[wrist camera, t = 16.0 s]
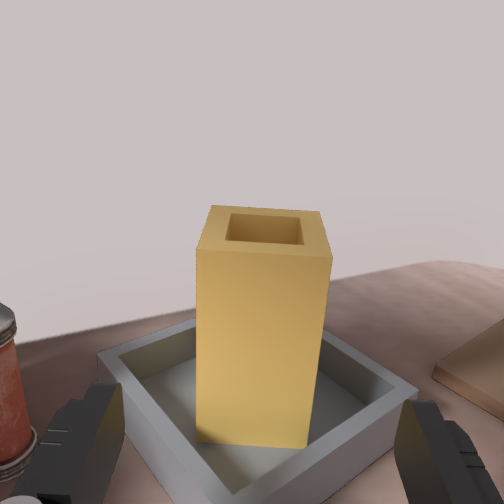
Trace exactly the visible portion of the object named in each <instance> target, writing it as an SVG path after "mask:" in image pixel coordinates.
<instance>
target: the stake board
mask: <svg viewBox="0 0 504 504" xmlns="http://www.w3.org/2000/svg"><path fill="white" fill-rule="evenodd" d="M432 378H433V379H435V380H436V381H438V382H439V383H441V384H443V385H444V386H446V387H448V388H449V389H451V390H453V391H454V392H456V393H458V394H459V395H461V396H463V397H464V398H466V399H467V400H469V401H471V402H472V403H474V404H476V405H477V406H479V407H481V408H482V409H484V410H486V411H487V412H489V413H491V414H492V415H494V416H495V417H497V418H499V419H500V420H502V421H504V319H503V320H501V321H500V322H498V323H497V324H495V325H494V326H492V327H491V328H489V329H488V330H486V331H485V332H483V333H482V334H480V335H479V336H477V337H476V338H474V339H473V340H471V341H470V342H468V343H467V344H466V345H464V346H463V347H461V348H460V349H458V350H457V351H455V352H454V353H452V354H451V355H449V356H448V357H446V358H445V359H443V360H442V361H440V362H439V363H437V364H436V365H435V368H434V372H433V376H432Z"/></svg>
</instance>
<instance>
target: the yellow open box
mask: <svg viewBox="0 0 504 504" xmlns="http://www.w3.org/2000/svg"><path fill="white" fill-rule="evenodd" d="M196 251H197V252H196V442H201V443H216V444H231V445H246V446H261V447H277V448H292V449H304V448H305V447H307V440H308V433H309V425H310V418H311V411H312V404H313V397H314V389H315V382H316V375H317V368H318V360H319V353H320V346H321V339H322V331H323V324H324V317H325V310H326V303H327V295H328V288H329V281H330V274H331V266H332V259H333V257H332V253H331V250H330V246H329V243H328V240H327V236H326V233H325V229H324V226H323V223H322V219H321V216H320V213H319V212H318V211H301V210H284V209H268V208H252V207H236V206H219V205H212V206H211V209H210V212H209V215H208V217H207V220H206V223H205V226H204V229H203V232H202V234H201V237H200V240H199V243H198V246H197V249H196Z"/></svg>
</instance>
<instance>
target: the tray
mask: <svg viewBox="0 0 504 504" xmlns="http://www.w3.org/2000/svg"><path fill="white" fill-rule="evenodd" d="M96 356H97V366H98V375H99V382H115V383H121V385H122V393H123V405H124V417H125V434H126V435H127V436H128V438H129V439H130V441H131V442H132V444H133V445H134V447H135V448H136V449H137V451H138V452H139V454H140V455H141V457H142V458H143V460H144V461H145V462H146V464H147V465H148V467H149V468H150V470H151V471H152V473H153V474H154V475H155V477H156V478H157V480H158V481H159V483H160V484H161V486H162V487H163V488H164V490H165V491H166V493H167V494H168V496H169V497H170V499H171V500H172V501H173V503H174V504H321V503H322V502H323V501H325V500H326V499H327V498H329V497H330V496H331V495H332V494H334V493H335V492H336V491H337V490H339V489H340V488H341V487H343V486H344V485H345V484H346V483H348V482H349V481H350V480H351V479H353V478H354V477H355V476H357V475H358V474H359V473H360V472H362V471H363V470H364V469H365V468H367V467H368V466H369V465H371V464H372V463H373V462H374V461H376V460H377V459H378V458H379V457H381V456H382V455H383V454H385V453H386V452H387V451H388V450H390V449H391V448H392V447H394V440H395V435H396V431H397V427H398V423H399V418H400V414H401V410H402V406H403V403H404V401H405V400H406V399H413V400H417V398H418V394H419V389H417V388H416V387H414V386H413V385H411V384H410V383H408V382H406V381H405V380H403V379H402V378H400V377H399V376H397V375H396V374H394V373H392V372H391V371H389V370H388V369H386V368H385V367H383V366H381V365H380V364H378V363H377V362H375V361H374V360H372V359H371V358H369V357H367V356H366V355H364V354H363V353H361V352H360V351H358V350H356V349H355V348H353V347H352V346H350V345H349V344H347V343H346V342H344V341H342V340H341V339H339V338H338V337H336V336H335V335H333V334H331V333H330V332H328V331H327V330H325V329H324V328H323V331H322V339H321V346H320V353H319V360H318V368H317V375H316V382H315V389H314V397H313V404H312V411H311V418H310V425H309V433H308V440H307V447H305V448H304V449H292V448H277V447H261V446H246V445H231V444H216V443H201V442H196V317H195V318H193V319H190V320H187V321H184V322H182V323H179V324H176V325H173V326H170V327H168V328H165V329H162V330H159V331H157V332H154V333H151V334H148V335H145V336H143V337H140V338H137V339H134V340H132V341H129V342H126V343H123V344H120V345H118V346H115V347H112V348H109V349H107V350H104V351H101V352H98V353H96Z"/></svg>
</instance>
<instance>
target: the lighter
mask: <svg viewBox="0 0 504 504" xmlns="http://www.w3.org/2000/svg"><path fill="white" fill-rule="evenodd" d="M16 330H17V327H16V321H15V316H14V313H13V311H12V310H11V309H10V308H8V307H7V306H5V305H3V304H2V303H0V482H5V481H9V480H11V479H13V478H15V477H17V476H19V475H20V474H22V473H23V472H24V470H25V468H26V467H27V465H28V463H29V461H30V459H31V458H32V456H33V454H34V452H35V450H36V449H37V447H38V445H39V443H38V437H37V432H36V431H35V429H34V428H33V427H32V426H31V425H30V421H29V415H28V410H27V405H26V400H25V395H24V390H23V385H22V380H21V375H20V369H19V364H18V359H17V354H16V349H15V344H14V339H13V337H14V336H15V334H16Z"/></svg>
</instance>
